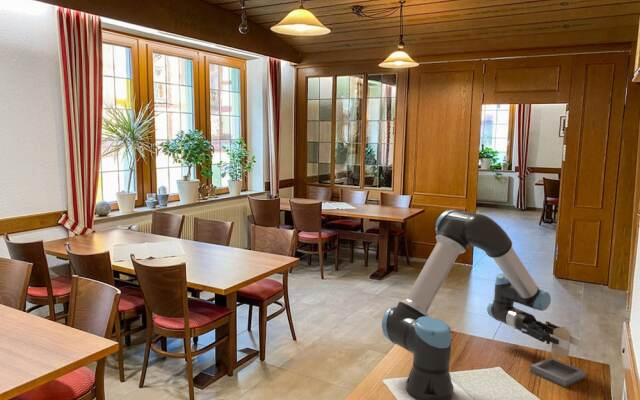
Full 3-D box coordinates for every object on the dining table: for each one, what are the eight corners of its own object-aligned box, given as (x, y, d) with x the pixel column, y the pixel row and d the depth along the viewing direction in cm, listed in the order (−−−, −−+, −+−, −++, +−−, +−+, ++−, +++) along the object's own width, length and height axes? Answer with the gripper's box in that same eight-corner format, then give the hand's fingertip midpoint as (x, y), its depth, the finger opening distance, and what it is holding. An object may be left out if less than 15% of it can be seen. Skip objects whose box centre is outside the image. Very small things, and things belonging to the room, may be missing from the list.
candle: (559, 350, 176) (561, 324, 174) (572, 357, 171) (574, 329, 169) (547, 352, 174) (550, 326, 172) (560, 359, 169) (562, 331, 167)
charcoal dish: (565, 387, 164) (565, 380, 164) (530, 371, 175) (530, 365, 174) (585, 378, 171) (585, 371, 171) (550, 363, 182) (550, 357, 182)
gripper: (538, 326, 192) (591, 350, 171) (502, 333, 184) (553, 359, 163) (539, 308, 191) (593, 330, 170) (504, 314, 183) (555, 338, 162)
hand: (574, 344), depth 167 cm, fingers closed on candle, 5 cm apart
